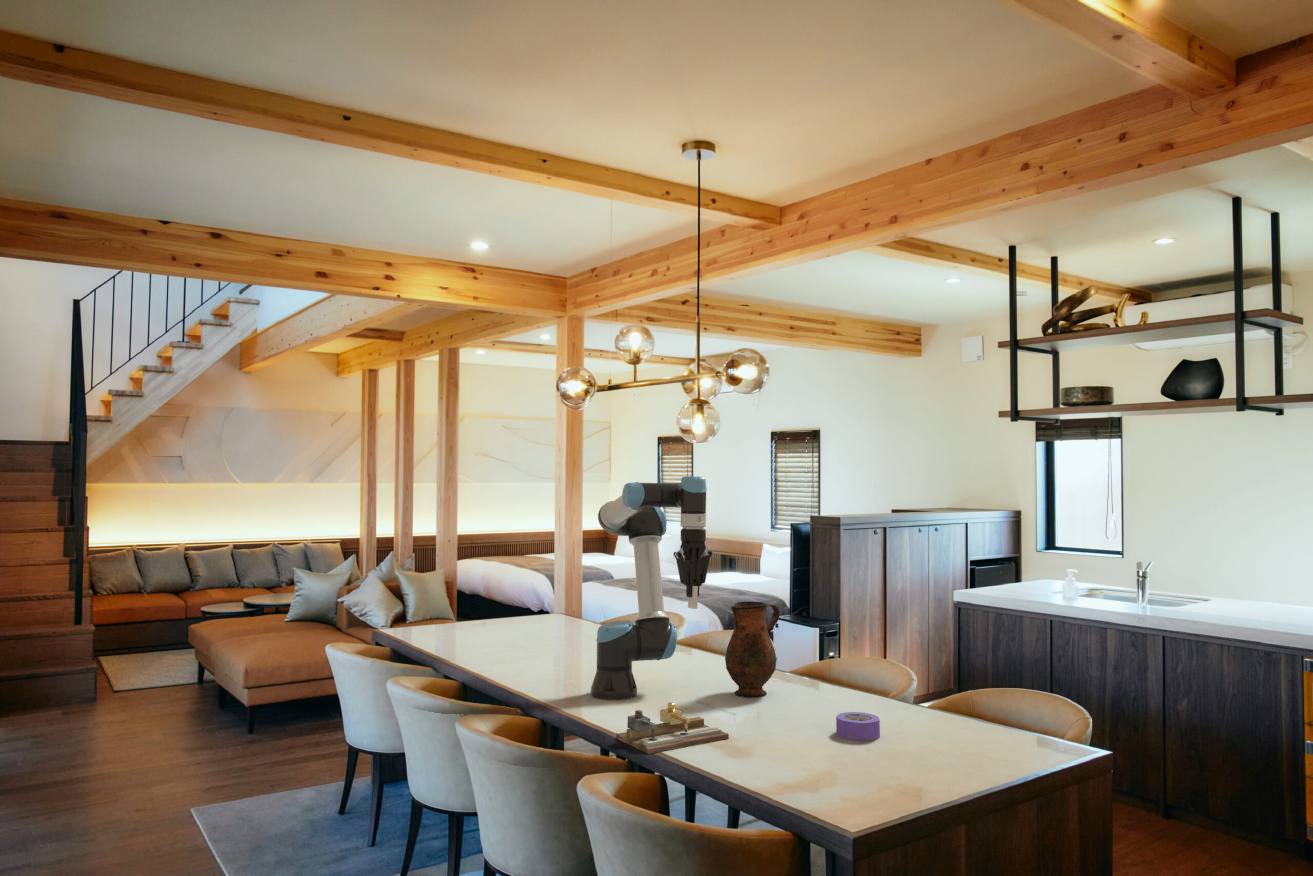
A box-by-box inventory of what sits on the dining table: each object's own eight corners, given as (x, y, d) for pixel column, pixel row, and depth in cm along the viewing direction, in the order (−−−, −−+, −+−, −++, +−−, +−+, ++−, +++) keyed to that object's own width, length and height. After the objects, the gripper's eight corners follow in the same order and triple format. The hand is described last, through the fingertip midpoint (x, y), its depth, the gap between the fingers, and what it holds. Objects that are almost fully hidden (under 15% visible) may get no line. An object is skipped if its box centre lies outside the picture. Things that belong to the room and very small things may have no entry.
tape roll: (828, 732, 239) (827, 713, 239) (862, 727, 243) (862, 709, 243) (853, 743, 228) (853, 724, 228) (888, 738, 232) (888, 720, 233)
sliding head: (660, 724, 234) (660, 702, 235) (671, 722, 237) (672, 700, 237) (682, 733, 226) (682, 710, 226) (694, 731, 228) (694, 708, 228)
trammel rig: (616, 738, 229) (616, 709, 230) (693, 724, 244) (693, 697, 244) (648, 754, 216) (648, 722, 217) (728, 738, 230) (728, 709, 231)
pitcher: (714, 693, 283) (715, 602, 284) (760, 684, 295) (760, 597, 297) (749, 703, 269) (749, 607, 271) (795, 694, 282) (795, 603, 284)
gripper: (682, 529, 246) (682, 611, 245) (718, 528, 254) (717, 608, 252) (668, 527, 253) (667, 608, 251) (703, 527, 260) (702, 605, 258)
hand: (692, 608), depth 252 cm, fingers closed
